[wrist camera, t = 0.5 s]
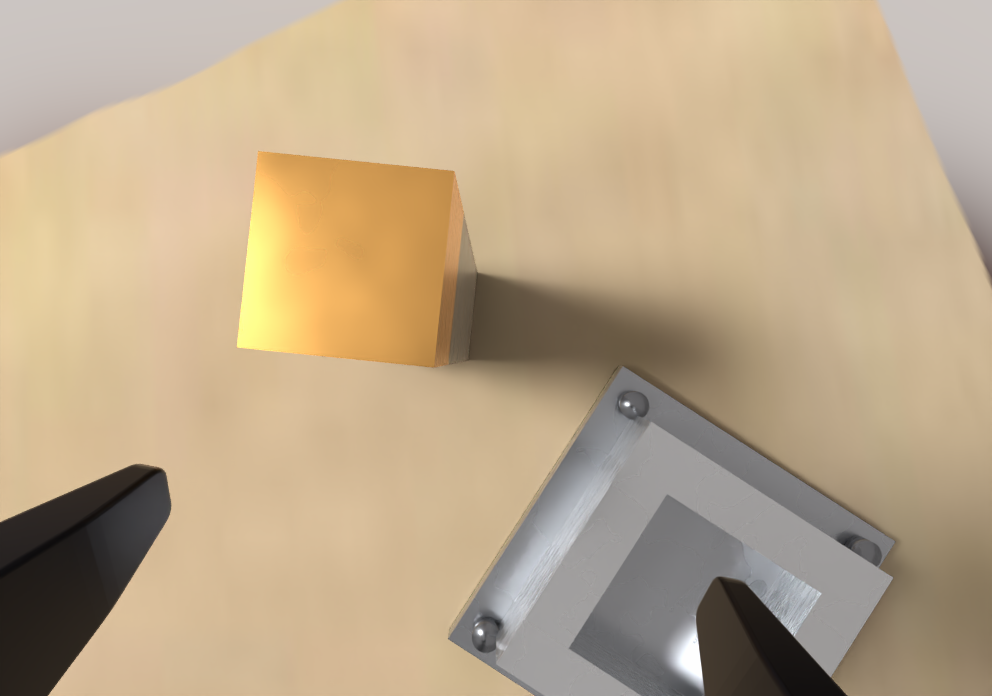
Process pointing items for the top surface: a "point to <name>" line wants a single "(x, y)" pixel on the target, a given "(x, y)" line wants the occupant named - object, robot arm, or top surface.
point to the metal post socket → (662, 555)
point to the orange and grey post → (357, 262)
